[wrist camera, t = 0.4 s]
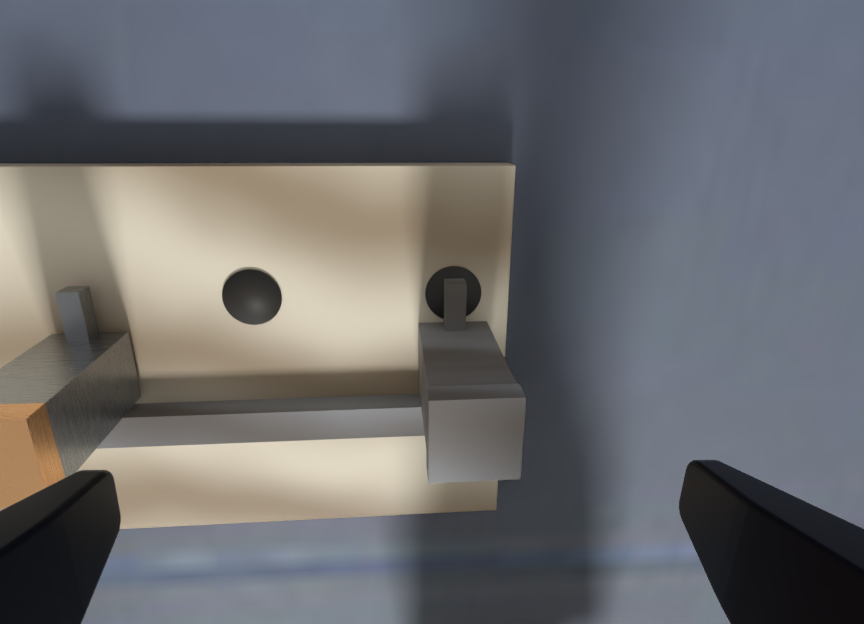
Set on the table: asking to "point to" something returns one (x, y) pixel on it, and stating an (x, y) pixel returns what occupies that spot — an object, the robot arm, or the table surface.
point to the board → (282, 330)
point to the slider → (62, 399)
